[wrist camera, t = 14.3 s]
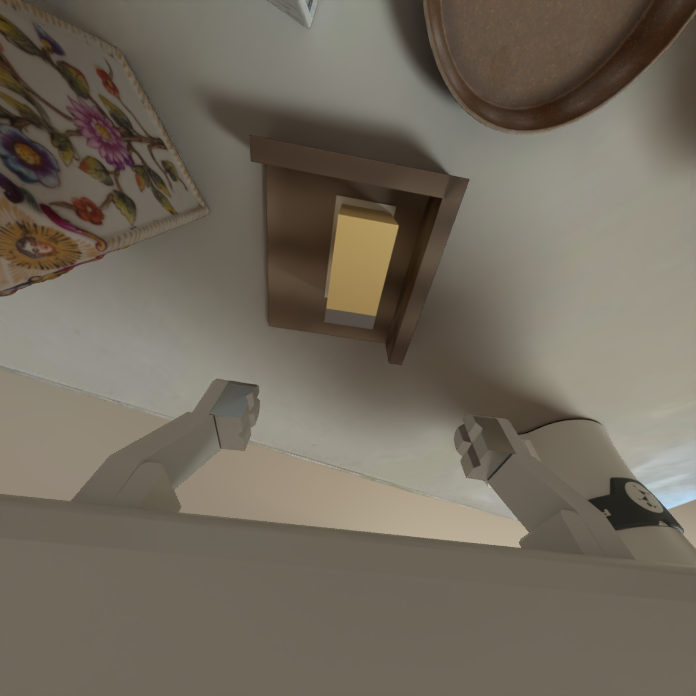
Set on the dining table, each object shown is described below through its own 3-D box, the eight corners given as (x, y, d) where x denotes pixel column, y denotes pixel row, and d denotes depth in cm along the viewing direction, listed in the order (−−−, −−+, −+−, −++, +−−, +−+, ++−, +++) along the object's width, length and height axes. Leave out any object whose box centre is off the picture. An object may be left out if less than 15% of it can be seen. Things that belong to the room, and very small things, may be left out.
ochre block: (390, 212, 24) (399, 225, 19) (369, 301, 29) (372, 329, 24) (341, 203, 24) (338, 214, 19) (329, 294, 29) (324, 322, 24)
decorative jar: (4, 105, 21) (-814, -23, 6) (119, 40, 19) (-729, -395, 4) (120, 252, 27) (-147, 356, 13) (215, 216, 25) (24, 293, 11)
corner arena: (396, 342, 33) (401, 364, 30) (270, 323, 32) (259, 344, 28) (451, 176, 23) (469, 179, 19) (267, 139, 22) (249, 135, 18)
